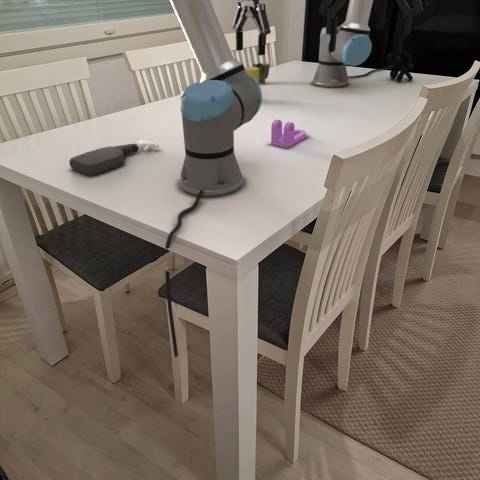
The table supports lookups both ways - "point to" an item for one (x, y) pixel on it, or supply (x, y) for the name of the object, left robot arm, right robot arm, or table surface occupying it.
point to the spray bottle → (106, 157)
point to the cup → (262, 72)
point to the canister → (253, 72)
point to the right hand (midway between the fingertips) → (250, 52)
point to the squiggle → (399, 66)
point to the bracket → (285, 134)
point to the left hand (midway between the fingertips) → (364, 52)
